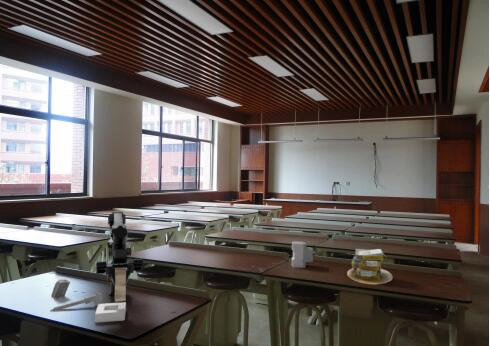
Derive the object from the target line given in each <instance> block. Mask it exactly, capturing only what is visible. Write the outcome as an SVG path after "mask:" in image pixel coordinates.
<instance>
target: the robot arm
mask: <svg viewBox="0 0 490 346" xmlns="http://www.w3.org/2000/svg"><path fill="white" fill-rule="evenodd" d="M126 219H127V218H126V214H125V213H124V212H123V211H118V210H117V211H116V210H115V211H112V213H110V214H109V215H108V217H107V225H108V226H109V238H111V240H112V260H111V262H107V260H102V261H101V260H100V261H99V260H98V261H96V263H95V264H96V266H95V274H97V275H99V274H102V275H103V274H105V275H107V283H110V290H109V293H108V296H115V268H126V285H127V283H128V281H129V278H130V276H131V274H134V272H139V271H140V272H141V271H143V268H144V260H143V259H142V258H133V261H132V262H128V257H131V256H132V247H127V242H128V241H127V240H128V238H129V236H130V235H131V232H130V231H129V228H127V225H126V222H127V221H126Z"/></svg>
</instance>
